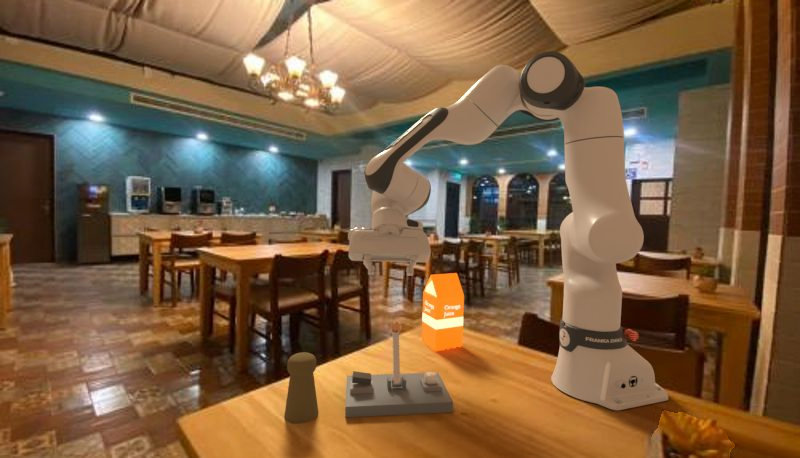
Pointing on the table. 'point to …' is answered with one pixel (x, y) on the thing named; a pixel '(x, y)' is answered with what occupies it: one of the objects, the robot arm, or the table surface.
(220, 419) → the table surface
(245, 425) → the table surface
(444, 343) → the orange juice
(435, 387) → the control panel
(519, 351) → the table surface
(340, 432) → the table surface
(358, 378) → the rocker switch
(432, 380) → the push button
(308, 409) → the brown pawn
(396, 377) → the copper ball joystick
